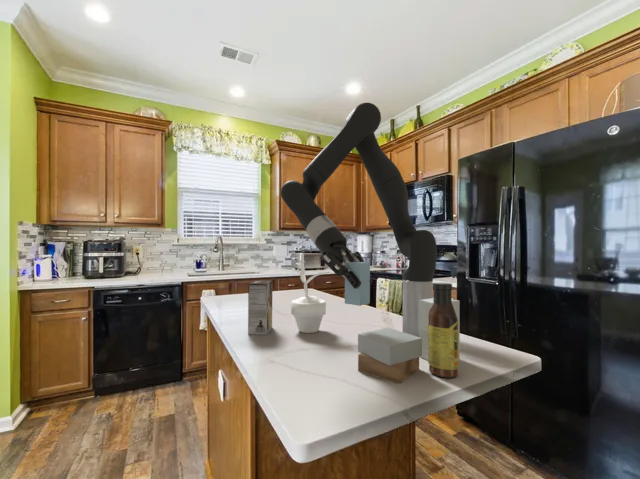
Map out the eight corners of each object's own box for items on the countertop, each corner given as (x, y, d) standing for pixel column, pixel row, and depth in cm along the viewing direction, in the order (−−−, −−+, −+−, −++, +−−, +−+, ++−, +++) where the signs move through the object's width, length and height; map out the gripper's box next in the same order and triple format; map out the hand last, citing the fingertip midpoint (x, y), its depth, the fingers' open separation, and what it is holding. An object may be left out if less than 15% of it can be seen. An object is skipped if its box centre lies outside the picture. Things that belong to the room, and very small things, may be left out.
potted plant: (285, 334, 98) (286, 255, 99) (297, 325, 110) (298, 254, 110) (324, 337, 95) (324, 255, 96) (332, 328, 106) (333, 254, 107)
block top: (388, 343, 77) (388, 327, 77) (422, 356, 69) (422, 338, 69) (357, 351, 72) (358, 333, 72) (390, 365, 64) (390, 346, 64)
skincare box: (442, 352, 82) (442, 296, 83) (461, 360, 77) (461, 299, 77) (417, 357, 79) (417, 298, 79) (436, 365, 73) (436, 302, 74)
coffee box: (253, 327, 107) (254, 280, 107) (272, 327, 107) (273, 280, 107) (247, 334, 98) (248, 283, 98) (267, 334, 98) (268, 283, 98)
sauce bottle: (461, 380, 65) (461, 285, 66) (430, 377, 66) (430, 284, 67) (454, 368, 72) (454, 281, 72) (426, 366, 73) (426, 281, 73)
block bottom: (380, 360, 77) (380, 343, 78) (419, 370, 71) (419, 353, 71) (358, 372, 70) (358, 354, 70) (399, 385, 63) (399, 365, 63)
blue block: (355, 301, 79) (355, 261, 80) (369, 303, 77) (369, 262, 77) (344, 303, 76) (344, 262, 76) (359, 305, 73) (359, 263, 73)
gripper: (315, 224, 76) (356, 277, 68) (349, 227, 87) (388, 273, 79) (300, 245, 80) (337, 298, 71) (334, 246, 90) (370, 292, 82)
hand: (364, 285), depth 75 cm, fingers closed on blue block, 4 cm apart
